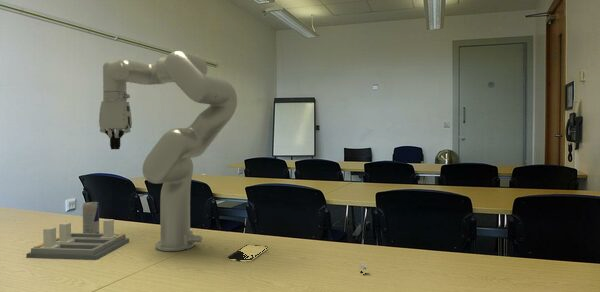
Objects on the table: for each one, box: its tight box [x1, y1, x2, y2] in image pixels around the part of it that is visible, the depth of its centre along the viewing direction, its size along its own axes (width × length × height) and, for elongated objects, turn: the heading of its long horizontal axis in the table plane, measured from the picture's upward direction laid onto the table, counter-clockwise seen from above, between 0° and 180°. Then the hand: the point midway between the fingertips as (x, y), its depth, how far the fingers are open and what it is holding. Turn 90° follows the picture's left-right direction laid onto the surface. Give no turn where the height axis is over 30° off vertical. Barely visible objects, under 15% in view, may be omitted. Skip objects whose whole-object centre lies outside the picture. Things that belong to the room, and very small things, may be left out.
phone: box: [227, 244, 269, 261], centre depth 128 cm, size 8×1×15 cm
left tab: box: [39, 226, 60, 248], centre depth 125 cm, size 4×3×7 cm
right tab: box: [100, 218, 118, 238], centre depth 137 cm, size 4×3×7 cm
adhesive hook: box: [359, 263, 369, 270], centre depth 111 cm, size 3×3×3 cm
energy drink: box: [82, 201, 100, 234], centre depth 148 cm, size 5×5×12 cm
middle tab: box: [56, 222, 75, 243], centre depth 131 cm, size 4×3×7 cm
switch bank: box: [25, 232, 130, 261], centre depth 131 cm, size 22×20×3 cm
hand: (115, 149), depth 144 cm, fingers closed
